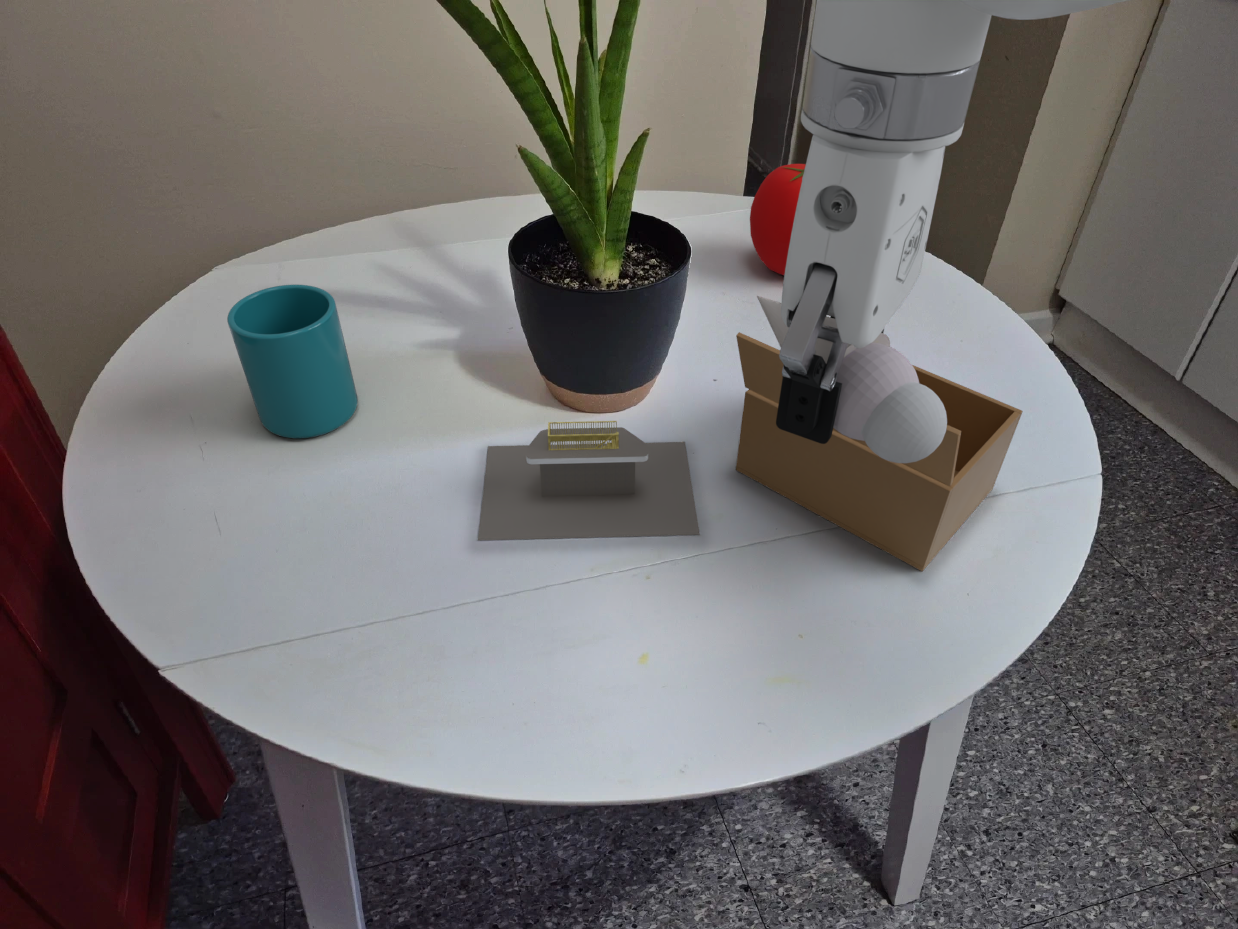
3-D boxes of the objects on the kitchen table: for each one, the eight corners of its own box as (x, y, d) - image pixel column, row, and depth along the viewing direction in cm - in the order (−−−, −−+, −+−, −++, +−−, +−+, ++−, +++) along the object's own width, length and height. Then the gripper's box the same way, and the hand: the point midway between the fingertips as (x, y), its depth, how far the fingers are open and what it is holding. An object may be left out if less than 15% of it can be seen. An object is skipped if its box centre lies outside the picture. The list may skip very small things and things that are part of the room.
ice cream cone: (748, 345, 58) (912, 495, 50) (701, 321, 53) (876, 484, 46) (808, 270, 56) (988, 415, 49) (765, 238, 51) (958, 394, 44)
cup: (371, 366, 89) (349, 266, 81) (350, 440, 80) (323, 335, 72) (281, 369, 88) (251, 268, 81) (249, 443, 79) (213, 338, 72)
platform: (488, 446, 79) (481, 387, 75) (685, 441, 80) (689, 383, 75) (477, 540, 70) (469, 479, 66) (699, 534, 71) (705, 474, 66)
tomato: (731, 252, 108) (742, 150, 100) (812, 243, 110) (829, 142, 102) (765, 297, 100) (779, 190, 91) (851, 286, 102) (873, 180, 93)
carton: (992, 489, 75) (1023, 410, 70) (922, 571, 68) (950, 491, 62) (814, 405, 84) (828, 329, 79) (735, 470, 77) (745, 391, 71)
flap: (961, 430, 57) (958, 435, 57) (953, 482, 62) (950, 486, 62) (739, 331, 66) (735, 335, 66) (747, 383, 71) (744, 387, 71)
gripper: (907, 170, 33) (831, 509, 45) (1011, 59, 45) (929, 354, 56) (731, 133, 36) (703, 460, 48) (870, 38, 48) (820, 322, 59)
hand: (825, 400), depth 52 cm, fingers closed on ice cream cone, 6 cm apart
